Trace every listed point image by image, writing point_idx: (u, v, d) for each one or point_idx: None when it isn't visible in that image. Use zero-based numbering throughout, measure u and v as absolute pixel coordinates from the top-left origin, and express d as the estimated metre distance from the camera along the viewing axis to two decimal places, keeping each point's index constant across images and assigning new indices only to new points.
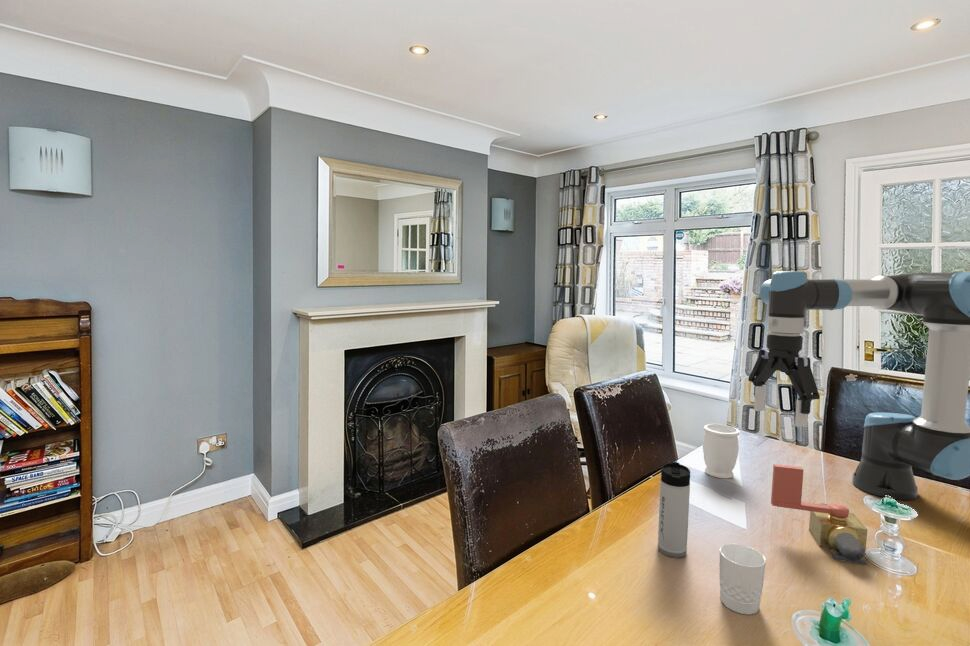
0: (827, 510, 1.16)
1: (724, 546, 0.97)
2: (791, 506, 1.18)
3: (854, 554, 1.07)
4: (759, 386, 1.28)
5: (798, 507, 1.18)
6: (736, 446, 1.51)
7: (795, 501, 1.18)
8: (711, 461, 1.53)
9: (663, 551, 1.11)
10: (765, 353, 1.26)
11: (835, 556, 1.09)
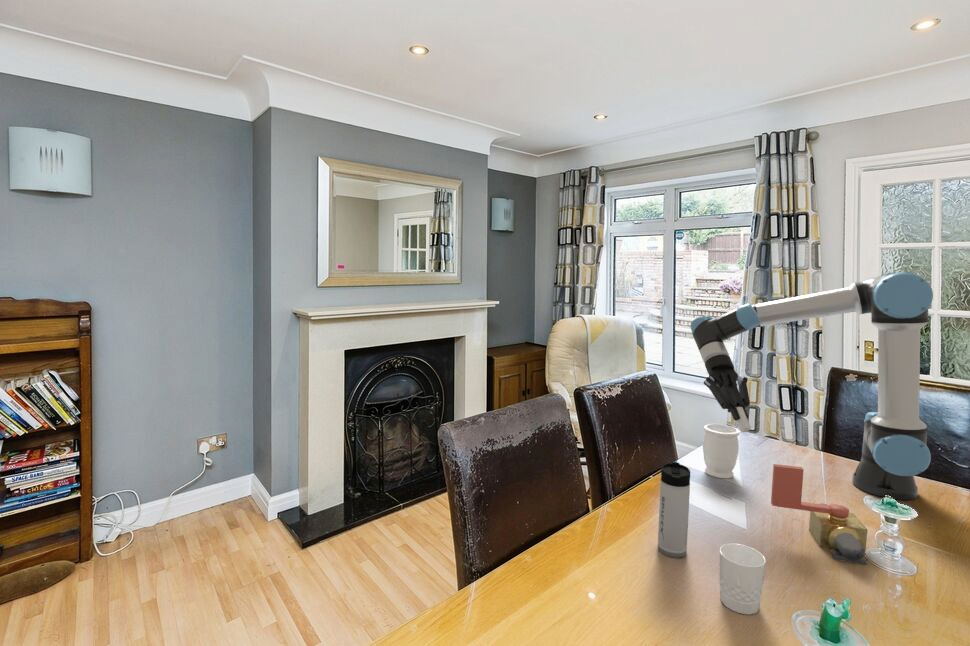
0: (827, 510, 1.16)
1: (724, 546, 0.97)
2: (791, 506, 1.18)
3: (854, 554, 1.07)
4: None
5: (798, 507, 1.18)
6: (736, 446, 1.51)
7: (795, 501, 1.18)
8: (711, 461, 1.53)
9: (663, 551, 1.11)
10: None
11: (835, 556, 1.09)
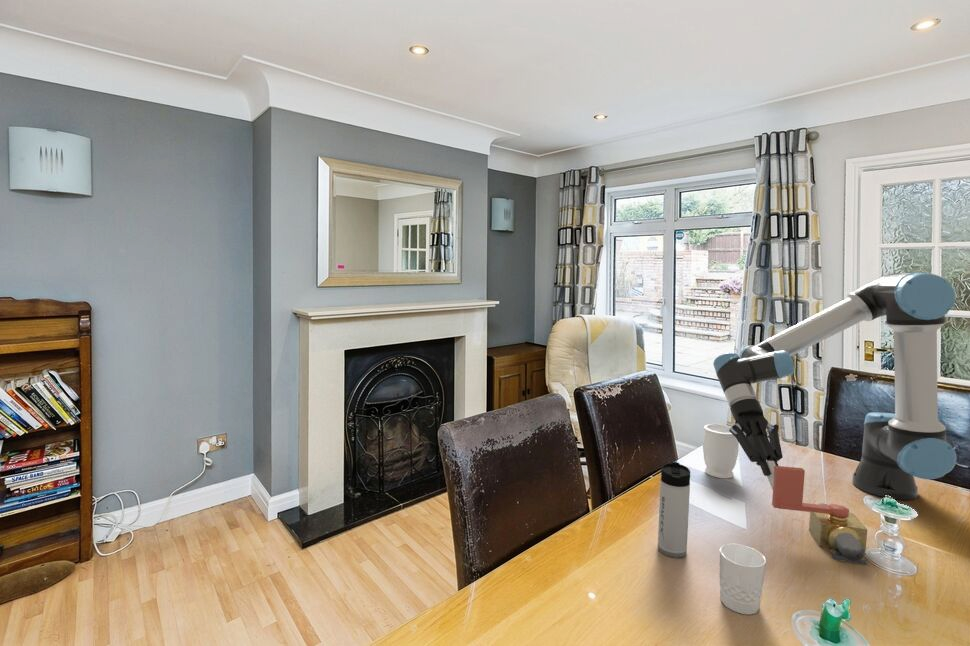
0: (828, 510, 1.16)
1: (724, 546, 0.97)
2: (793, 507, 1.17)
3: (854, 554, 1.07)
4: None
5: (799, 508, 1.17)
6: (736, 446, 1.51)
7: (796, 502, 1.17)
8: (711, 461, 1.53)
9: (663, 551, 1.11)
10: None
11: (835, 556, 1.09)
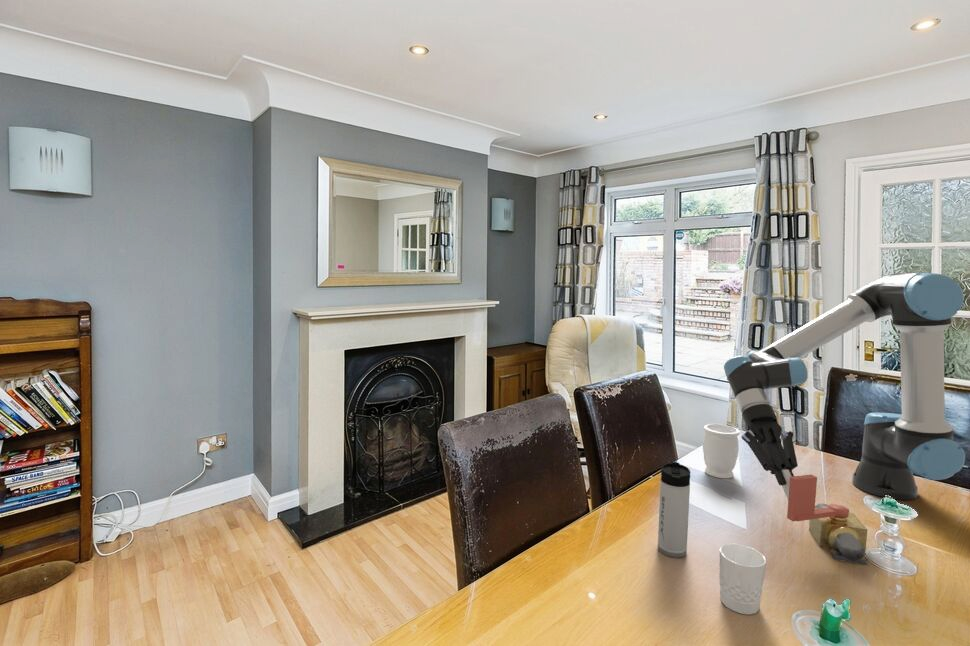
0: (833, 513, 1.14)
1: (724, 546, 0.97)
2: (808, 517, 1.13)
3: (854, 554, 1.07)
4: None
5: (813, 517, 1.13)
6: (736, 446, 1.51)
7: (810, 511, 1.13)
8: (711, 460, 1.53)
9: (663, 551, 1.11)
10: None
11: (835, 556, 1.09)
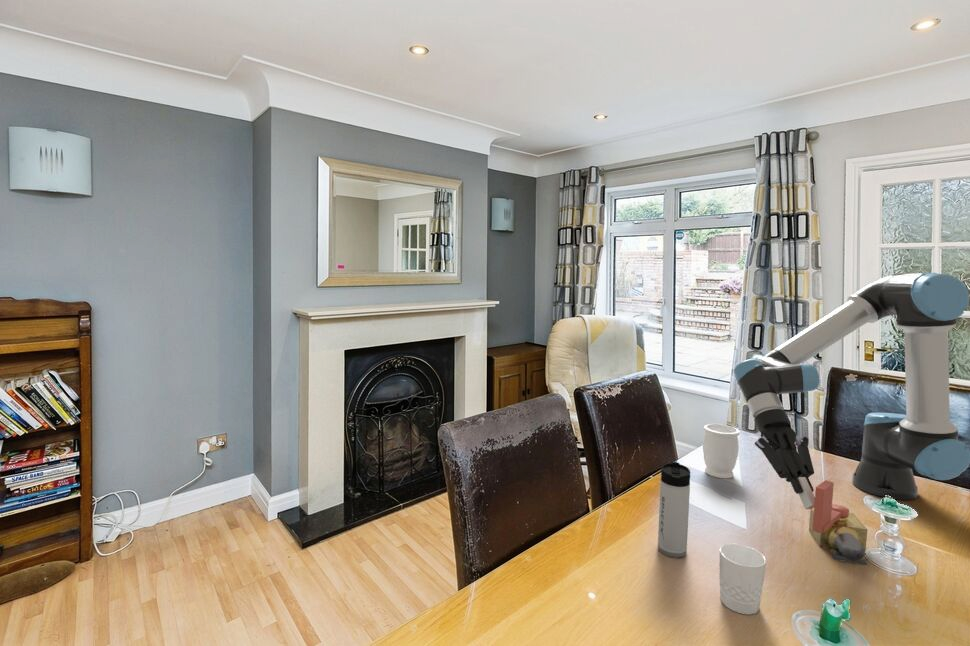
0: (839, 515, 1.14)
1: (724, 546, 0.97)
2: (828, 525, 1.09)
3: (854, 554, 1.07)
4: None
5: (830, 523, 1.10)
6: (736, 446, 1.51)
7: (829, 518, 1.10)
8: (711, 460, 1.53)
9: (663, 551, 1.11)
10: None
11: (835, 556, 1.09)
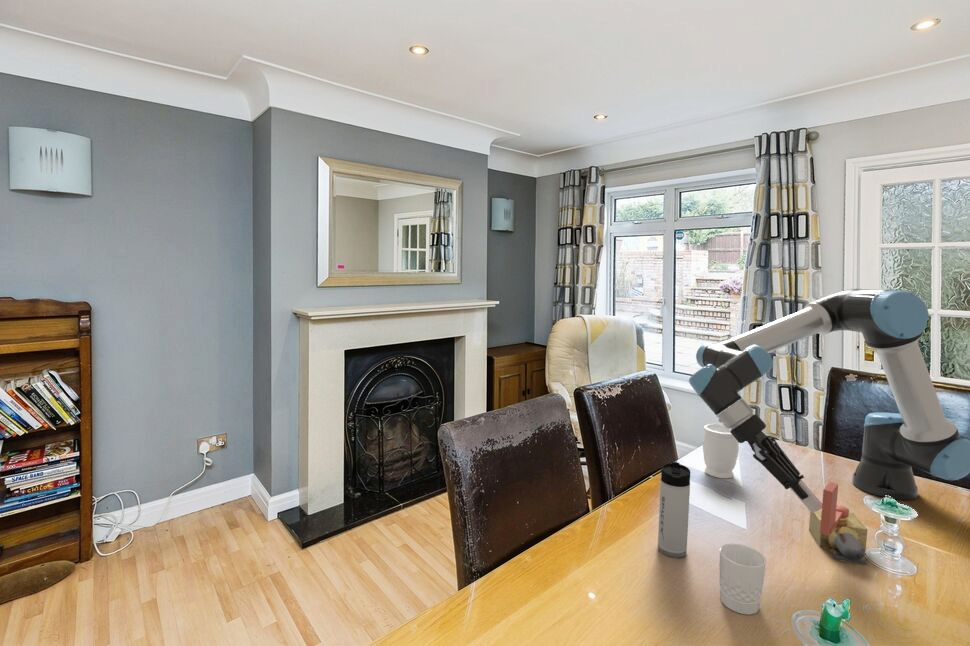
0: (841, 515, 1.13)
1: (724, 546, 0.97)
2: (834, 527, 1.08)
3: (854, 554, 1.07)
4: None
5: (835, 525, 1.09)
6: (736, 446, 1.51)
7: (834, 520, 1.09)
8: (711, 461, 1.53)
9: (663, 551, 1.11)
10: None
11: (835, 556, 1.09)
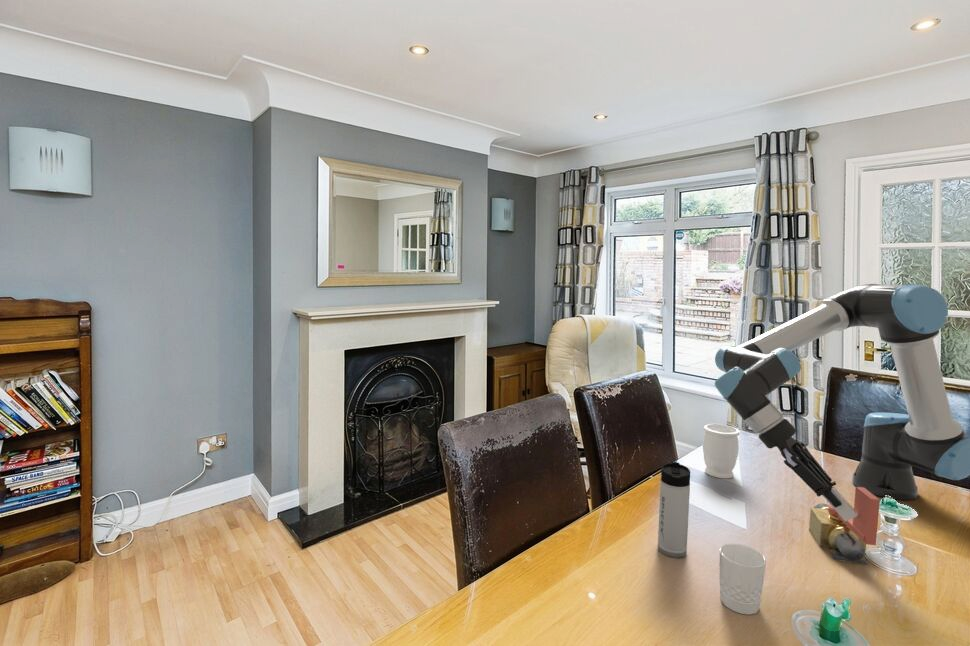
0: None
1: (724, 546, 0.97)
2: None
3: (854, 554, 1.07)
4: None
5: None
6: (736, 446, 1.51)
7: None
8: (711, 461, 1.53)
9: (663, 551, 1.11)
10: None
11: (835, 556, 1.09)
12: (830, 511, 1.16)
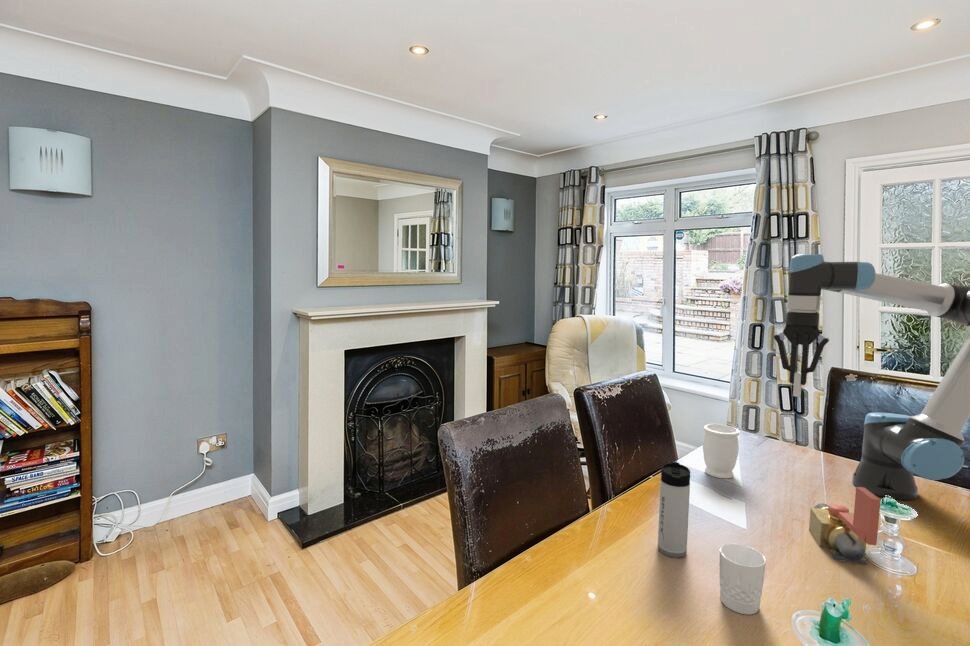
0: None
1: (724, 546, 0.97)
2: None
3: (854, 554, 1.07)
4: (800, 372, 1.35)
5: None
6: (736, 446, 1.51)
7: None
8: (711, 460, 1.53)
9: (663, 551, 1.11)
10: None
11: (835, 556, 1.09)
12: (830, 511, 1.16)
